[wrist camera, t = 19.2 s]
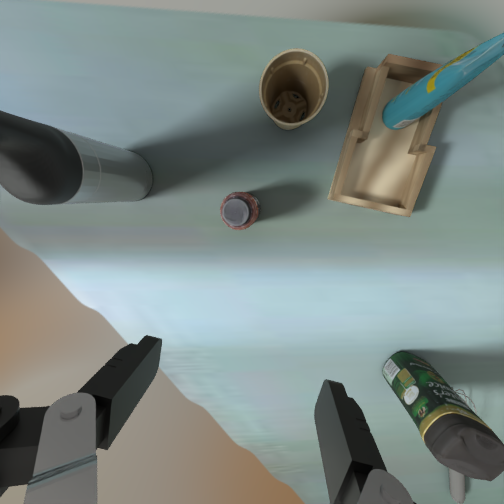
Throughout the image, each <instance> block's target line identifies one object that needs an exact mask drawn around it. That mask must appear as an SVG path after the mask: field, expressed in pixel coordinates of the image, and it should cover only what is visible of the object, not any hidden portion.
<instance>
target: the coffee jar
mask: <svg viewBox="0 0 504 504" xmlns="http://www.w3.org/2000/svg"><path fill="white" fill-rule="evenodd" d="M382 373H383V376H384V378H385V379H386V381H387V382H388V384H389V385H390V387H391V388H392V390H393V391H394V393H395V394H396V395H397V397H398V398H399V400H400V401H401V403H402V404H403V406H404V407H405V409H406V410H407V412H408V413H409V415H410V416H411V418H412V419H413V421H414V422H415V424H416V426H417V428H418V429H419V432H420V434H421V437H422V439H423V441H424V443H425V444H426V446H427V447H428V449H429V450H430V451H431V453H432V454H433V455H434V457H435V458H436V459H437V460H438V461H439V462H440V463H441V464H443V465H445V466H446V467H448V468H450V469H452V470H454V471H456V472H458V473H461V474H463V475H465V476H468V477H471V478H474V479H481V480H488V481H492V480H493V479H495V478H496V477H497V476H498V475H500V474H501V473H502V472H503V471H504V444H503V443H502V442H501V440H500V439H499V438H498V437H497V436H496V434H495V433H494V432H493V431H492V430H491V429H490V428H489V427H488V426H487V425H486V424H485V423H484V422H483V421H482V420H481V419H480V418H479V417H478V416H477V415H476V414H475V413H474V412H473V411H472V410H471V409H470V408H469V407H468V406H467V404H466V403H465V402H464V401H463V400H462V399H461V398H460V397H459V396H458V395H457V394H456V393H455V391H454V390H453V389H452V388H451V387H450V386H449V385H448V384H447V383H446V382H445V380H444V379H443V378H442V377H441V376H440V375H439V374H438V373H437V371H436V370H435V369H434V368H433V367H432V366H431V365H430V364H429V363H427V362H426V361H424V360H422V359H421V358H419V357H417V356H414V355H412V354H409V353H406V352H399V353H395V354H394V355H392V356H391V357H390V358H389V359H388V360H387V361H386V363H385V365H384V367H383V370H382Z"/></svg>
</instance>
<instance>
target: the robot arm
mask: <svg viewBox="0 0 504 504" xmlns="http://www.w3.org/2000/svg"><path fill="white" fill-rule="evenodd" d="M0 184H1V185H2V186H3V188H4V189H6V190H7V191H8V192H9V193H10V194H12V195H13V196H14V197H16V198H18V199H20V200H22V201H24V202H28V203H32V204H38V205H52V204H75V203H102V202H130V201H138V200H140V199H143V198H144V197H145V196H146V195H147V194H148V193H149V191H150V189H151V186H152V172H151V169H150V167H149V165H148V163H147V162H146V161H145V160H144V158H143V157H141V156H140V155H138V154H136V153H134V152H131V151H128V150H125V149H122V148H118V147H115V146H112V145H109V144H106V143H102V142H99V141H96V140H93V139H90V138H86V137H83V136H80V135H77V134H74V133H70V132H67V131H64V130H61V129H57V128H54V127H51V126H48V125H45V124H41V123H38V122H34V121H31V120H28V119H25V118H21V117H18V116H15V115H12V114H9V113H6V112H3V111H0ZM161 346H162V339H160V338H156V337H152V336H148V335H146V336H144V338H143V339H142V340H141V341H140V342H139V343H138V344H137V345H136V344H132V343H131V344H129V345H127V346H125V347H123V348H122V349H120V350H119V351H118V352H117V353H116V354H115V355H114V356H113V357H112V359H110V360H109V361H108V362H107V363H106V364H105V366H103V367H102V368H101V369H100V370H99V371H98V372H97V373H96V374H95V375H94V376H93V377H92V378H91V379H90V380H89V381H88V382H87V383H86V384H85V385H84V386H83V387H82V388H81V389H80V390H79V391H78V392H77V393H73V394H69V395H67V396H64V397H62V398H60V399H59V400H57V401H56V402H54V403H53V404H52V405H51V406H47V407H31V408H19V401H18V399H16V398H15V397H13V396H8V395H5V396H4V395H3V396H0V497H1V496H2V494H3V493H4V492H5V491H6V490H7V489H8V487H10V486H18V485H25V484H28V486H27V490H26V495H25V500H24V504H97V456H96V450H97V448H101V449H105V450H108V448H109V447H110V445H111V444H112V442H113V441H114V439H115V438H116V436H117V434H118V433H119V432H120V430H121V428H122V427H123V425H124V423H125V422H126V421H127V419H128V418H129V416H130V415H131V413H132V412H133V410H134V408H135V407H136V405H137V404H138V402H139V401H140V399H141V398H142V396H143V395H144V393H145V392H146V390H147V388H148V387H149V385H150V384H151V382H152V381H153V379H154V377H155V375H156V373H157V370H158V367H159V360H160V353H161ZM314 417H315V424H316V429H317V435H318V440H319V445H320V451H321V456H322V461H323V467H324V472H325V477H326V483H327V488H328V493H329V499H330V504H416V503H415V502H413V500H412V498H411V496H410V494H409V493H408V491H407V490H406V488H405V487H404V486H403V485H402V483H401V482H400V481H399V480H398V479H396V478H395V477H394V476H393V475H391V474H390V473H388V472H387V470H386V467H385V465H384V462H383V460H382V457H381V455H380V453H379V450H378V448H377V445H376V443H375V441H374V438H373V436H372V433H370V429H369V426H368V424H367V423H366V419H365V417H364V414H363V412H362V409H361V408H360V407H359V405H358V404H357V403H356V402H355V400H354V399H353V398H350V397H348V396H347V394H346V391H345V388H344V386H343V384H342V383H339V382H335V381H331V380H327V379H326V380H325V381H324V382H323V385H322V388H321V391H320V394H319V396H318V399H317V402H316V405H315V412H314Z"/></svg>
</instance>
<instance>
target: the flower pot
mask: <svg viewBox="0 0 504 504" xmlns="http://www.w3.org/2000/svg"><path fill="white" fill-rule="evenodd" d="M328 88H329V81H328V74H327V71H326V68H325V66H324V64H323V63H322V61H321V60H320V59H319V58H318V57H317V56H316V55H315V54H314V53H312V52H310V51H308V50H304V49H298V48H296V49H294V48H293V49H288V50H286V51H283V52H281V53H279V54H278V55H276V56H275V57H274V58H273V59H272V60H271V61H270V62H269V63H268V65H267V66H266V67H265V69H264V71H263V73H262V76H261V80H260V85H259V95H260V100H261V104H262V106H263V108H264V110H265V112H266V113H267V114H268V116H269V117H270V118H271V119H273V121H274V122H275V124H276V125H277V126H278V127H280V128H282V129H285V130H292V129H295V128H297V127H299V126H300V125H301V124H304V123H306V122H308V121H310V120H311V119H312V118H314V117H315V116H316V115H317V114H318V112H319V111H320V110H321V108H322V107H323V105H324V103H325V100H326V97H327V94H328ZM293 94H294V95H297V96H298V97H299V98H295V97H294V96H293ZM277 101H279V104H278V106H277V108H275V104H276V103H277ZM289 108H290V109H291V111H289V110H288V109H289ZM303 112H304V113H305V115H304V118H303V119H302V120H300V118H301V116H302V114H303Z"/></svg>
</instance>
